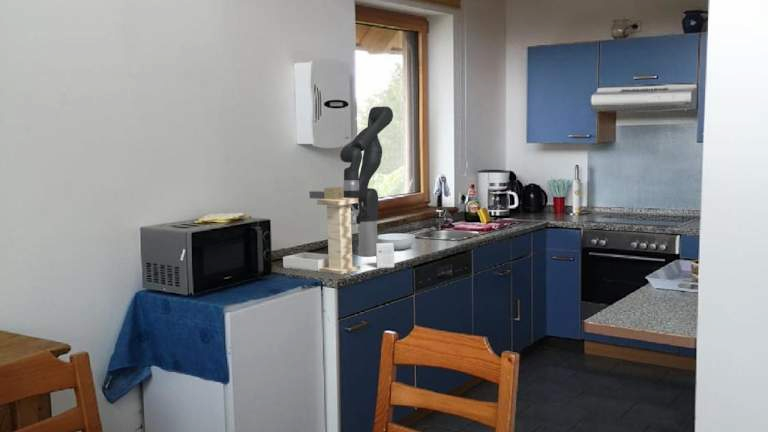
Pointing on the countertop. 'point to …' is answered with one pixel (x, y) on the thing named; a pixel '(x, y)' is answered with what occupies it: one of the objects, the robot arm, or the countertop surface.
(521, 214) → the countertop surface
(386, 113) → the robot arm
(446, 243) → the countertop surface
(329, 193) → the strut
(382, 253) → the small box
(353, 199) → the birch pedestal
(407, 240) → the serving bowl
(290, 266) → the grey tray
